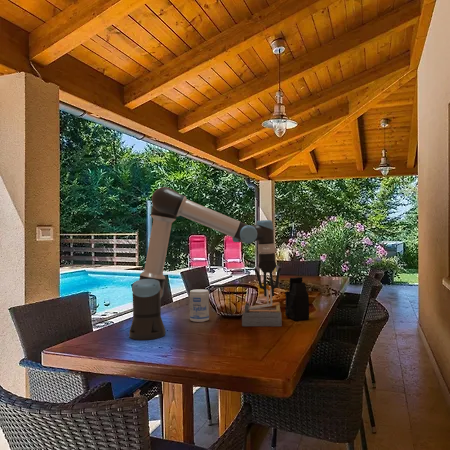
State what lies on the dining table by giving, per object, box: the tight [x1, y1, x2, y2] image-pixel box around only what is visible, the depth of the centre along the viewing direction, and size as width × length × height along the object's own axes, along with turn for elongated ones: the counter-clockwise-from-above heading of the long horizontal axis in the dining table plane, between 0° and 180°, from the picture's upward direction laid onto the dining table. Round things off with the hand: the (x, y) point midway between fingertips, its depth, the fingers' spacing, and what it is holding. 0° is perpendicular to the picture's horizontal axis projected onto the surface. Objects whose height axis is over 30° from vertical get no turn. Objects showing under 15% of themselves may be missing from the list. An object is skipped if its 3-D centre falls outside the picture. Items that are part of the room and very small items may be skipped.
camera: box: [284, 277, 310, 322], centre depth 208 cm, size 10×14×20 cm
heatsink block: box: [241, 302, 283, 327], centre depth 199 cm, size 18×12×9 cm, turn 83°
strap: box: [248, 301, 280, 310], centre depth 199 cm, size 16×4×1 cm, turn 83°
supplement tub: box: [189, 288, 210, 323], centre depth 208 cm, size 10×10×15 cm
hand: (269, 303), depth 198 cm, fingers closed
